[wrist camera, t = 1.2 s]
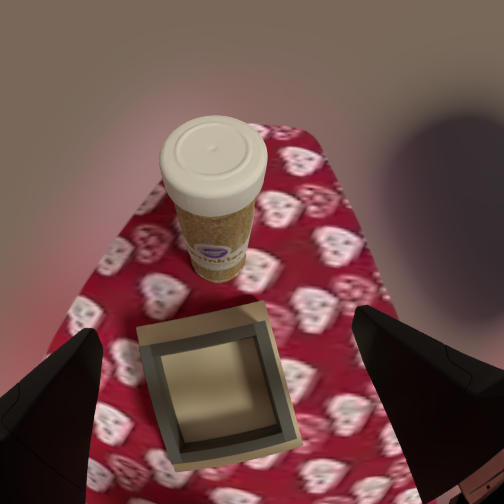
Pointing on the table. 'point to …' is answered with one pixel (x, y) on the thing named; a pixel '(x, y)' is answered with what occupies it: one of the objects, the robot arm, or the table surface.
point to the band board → (218, 387)
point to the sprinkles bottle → (214, 190)
